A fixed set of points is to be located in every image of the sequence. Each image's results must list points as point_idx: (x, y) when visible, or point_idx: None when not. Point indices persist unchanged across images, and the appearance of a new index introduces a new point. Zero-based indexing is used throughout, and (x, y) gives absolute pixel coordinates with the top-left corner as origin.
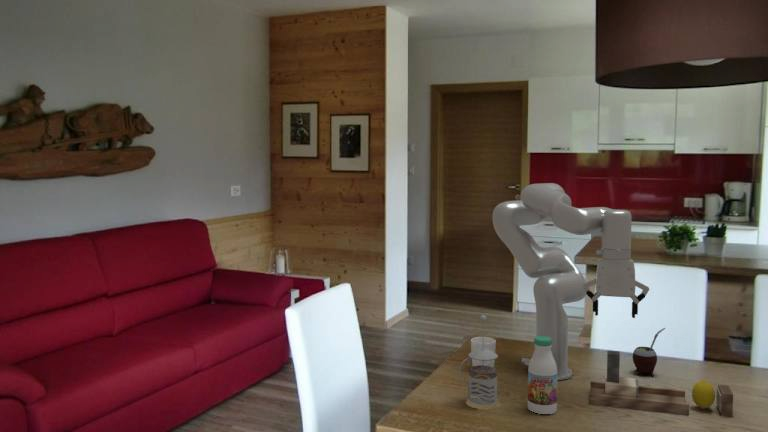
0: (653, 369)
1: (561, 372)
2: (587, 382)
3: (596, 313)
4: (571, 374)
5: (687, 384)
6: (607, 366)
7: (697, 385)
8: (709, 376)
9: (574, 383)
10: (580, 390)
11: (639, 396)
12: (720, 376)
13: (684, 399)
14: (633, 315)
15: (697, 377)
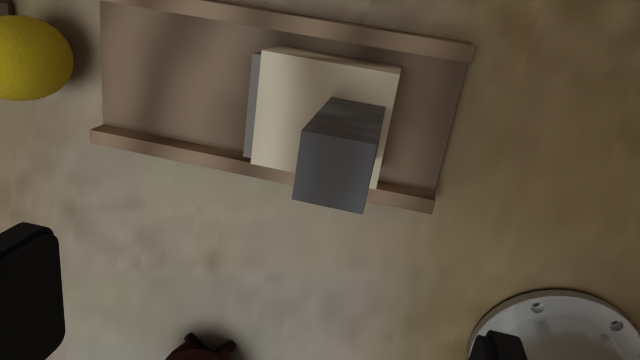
0: (175, 349)
1: (527, 328)
2: (423, 278)
3: (506, 348)
4: (477, 331)
5: (93, 272)
6: (379, 124)
7: (10, 51)
8: None
9: (478, 266)
10: (472, 195)
11: None
12: None
13: (106, 101)
14: (20, 237)
15: None
